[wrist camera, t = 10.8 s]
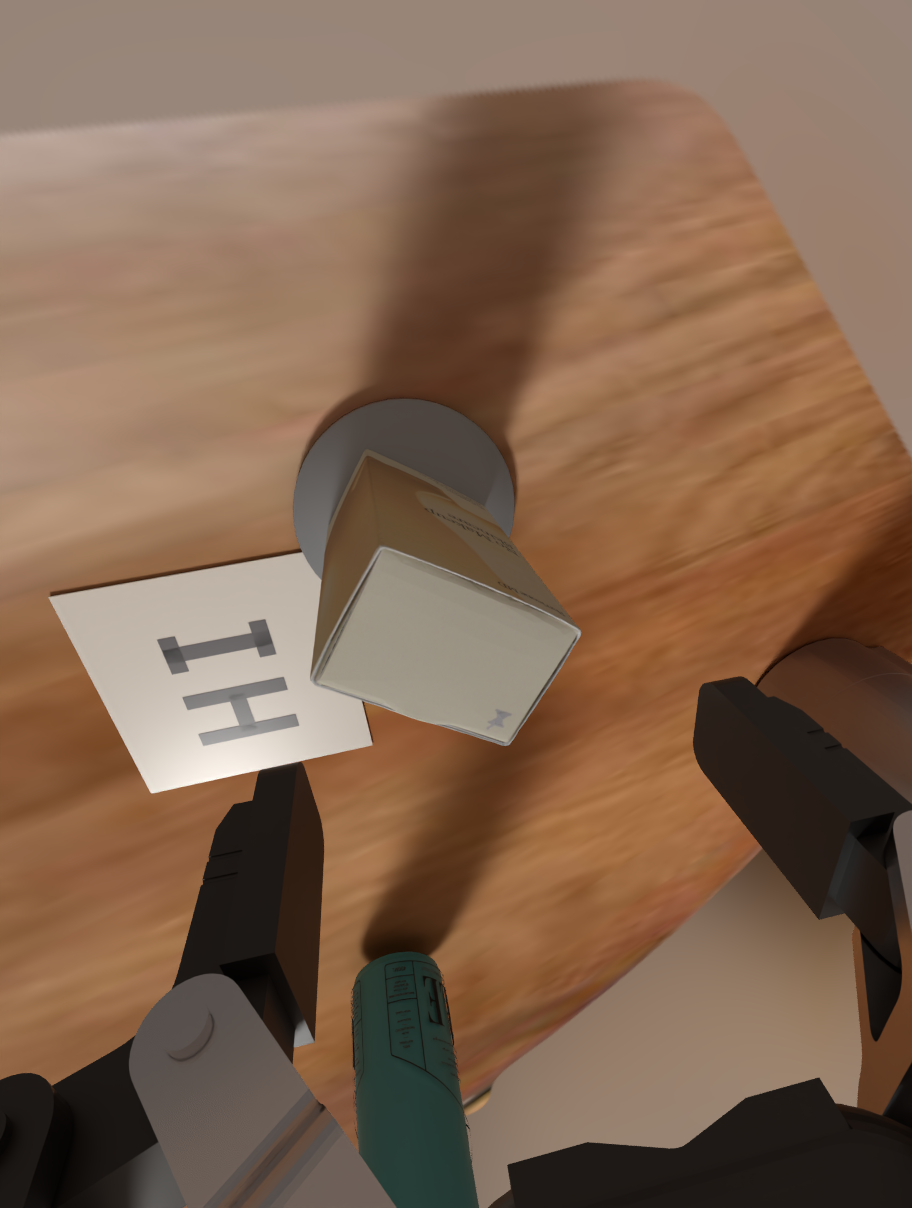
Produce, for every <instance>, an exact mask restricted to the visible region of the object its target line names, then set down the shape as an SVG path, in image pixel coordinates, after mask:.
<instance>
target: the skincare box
mask: <svg viewBox="0 0 912 1208" xmlns="http://www.w3.org/2000/svg"><path fill="white" fill-rule="evenodd" d="M580 636H581V630H580V628H579V627H578V626H577V625H576V624H575V623H574V621H573V620H572V619H571V618H570V616H569V615H568V614H567V612H566V611H565V610H564V609H563V607H562V606H561V605H560V604H559V602H558V601H557V600H556V598H555V597H554V596H553V594H552V593H551V592H550V591H549V589H548V588H547V587H546V585H545V584H544V583H543V582H542V580H541V579H540V578H539V576H538V575H537V574H536V573H535V571H534V570H533V569H532V567H531V566H530V565H529V563H528V562H527V561H526V560H525V558H524V557H523V556H522V554H521V553H520V552H519V551H518V549H517V548H516V547H515V545H514V544H513V543H512V541H511V540H510V539H509V538H508V536H507V535H506V534H505V533H504V531H503V530H502V529H501V527H500V526H499V525H498V523H497V522H496V521H495V519H494V518H493V517H492V515H491V514H490V513H489V512H488V510H487V509H486V508H485V507H484V506H483V505H481V504H480V503H478V502H476V501H474V500H472V499H471V498H469V497H467V496H465V495H463V494H461V493H460V492H458V491H456V490H454V489H452V488H450V487H448V486H446V485H444V484H442V483H440V482H438V481H436V480H434V479H432V478H430V477H428V476H426V475H424V474H422V473H420V472H418V471H416V470H413V469H411V468H409V467H407V466H404V465H402V464H400V463H398V462H396V461H394V460H391V459H389V458H387V457H385V456H382V455H380V454H378V453H376V452H374V451H371V450H369V449H366V450H365V451H364V452H363V454H362V456H361V458H360V460H359V462H358V464H357V466H356V468H355V470H354V472H353V474H352V476H351V479H350V481H349V483H348V485H347V487H346V489H345V491H344V493H343V495H342V497H341V499H340V502H339V504H338V506H337V508H336V511H335V513H334V515H333V517H332V520H331V522H330V524H329V526H328V530H327V538H326V546H325V554H324V565H323V573H322V581H321V590H320V598H319V608H318V616H317V624H316V632H315V642H314V649H313V658H312V666H311V673H310V681H311V682H312V683H313V684H314V685H315V686H317V687H320V688H323V689H327V690H330V691H333V692H336V693H339V694H342V695H345V696H348V697H352V698H355V699H358V700H361V701H364V702H367V703H370V704H373V705H377V706H380V707H383V708H386V709H388V710H391V711H394V712H397V713H400V714H402V715H405V716H407V717H410V718H413V719H416V720H420V721H424V722H428V723H432V724H436V725H440V726H443V727H446V728H449V729H452V730H455V731H458V732H462V733H465V734H469V735H472V736H475V737H478V738H481V739H484V740H487V741H490V742H494V743H497V744H499V745H502V746H507V745H510V743H511V742H512V741H513V739H514V738H515V736H516V735H517V733H518V731H519V730H520V728H521V727H522V725H523V724H524V723H525V722H526V720H527V718H528V717H529V715H530V714H531V712H532V711H533V710H534V708H535V707H536V705H537V704H538V702H539V701H540V699H541V697H542V696H543V694H544V693H545V692H546V690H547V689H548V687H549V686H550V684H551V683H552V681H553V680H554V678H555V676H556V675H557V673H558V672H559V670H560V669H561V667H562V666H563V664H564V662H565V661H566V659H567V658H568V656H569V654H570V652H571V650H572V649H573V647H574V645H575V644H576V642H577V641H578V639H579V638H580Z"/></svg>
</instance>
